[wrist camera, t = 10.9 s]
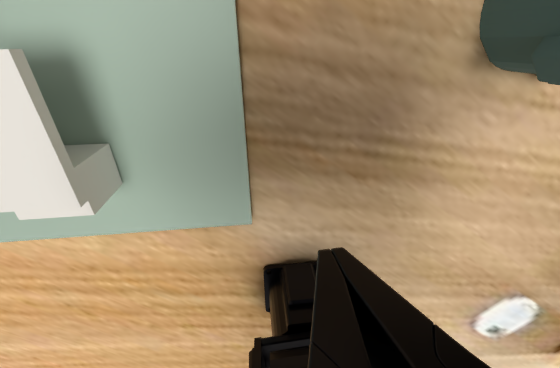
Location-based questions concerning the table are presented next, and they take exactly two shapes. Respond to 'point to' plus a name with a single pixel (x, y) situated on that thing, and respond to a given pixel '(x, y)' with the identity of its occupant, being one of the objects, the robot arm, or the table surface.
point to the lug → (45, 154)
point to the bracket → (523, 36)
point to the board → (140, 108)
